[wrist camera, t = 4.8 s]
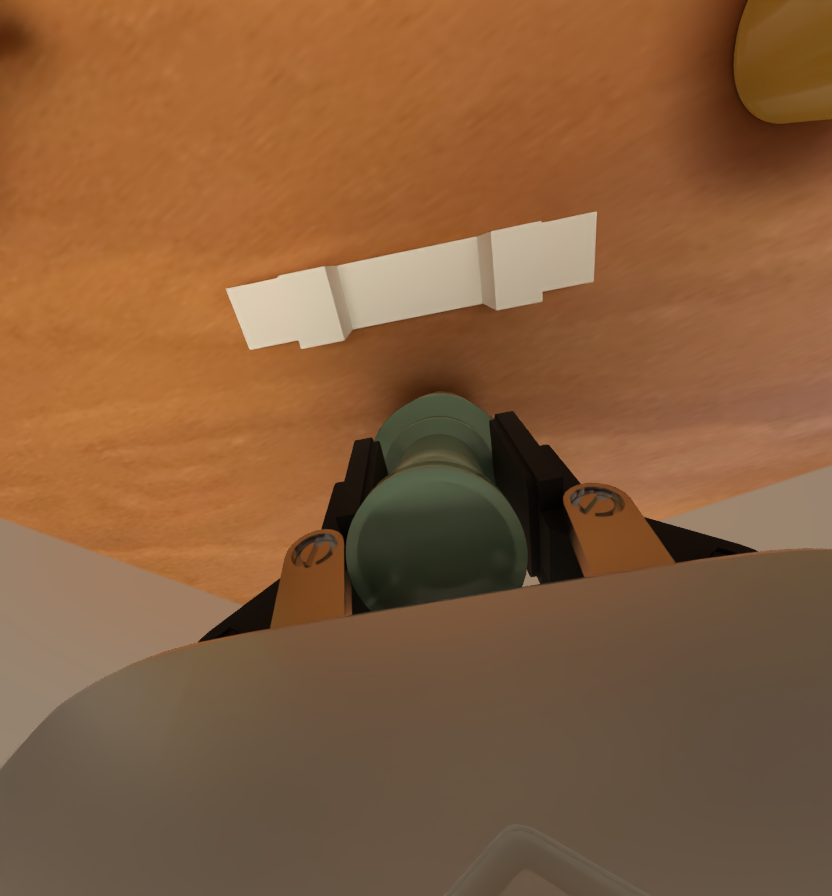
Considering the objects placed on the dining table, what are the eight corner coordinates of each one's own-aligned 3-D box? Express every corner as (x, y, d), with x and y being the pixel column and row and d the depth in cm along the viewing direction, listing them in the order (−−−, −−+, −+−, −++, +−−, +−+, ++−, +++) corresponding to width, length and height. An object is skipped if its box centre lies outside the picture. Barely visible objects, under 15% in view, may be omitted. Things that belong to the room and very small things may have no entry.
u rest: (576, 216, 18) (634, 201, 14) (575, 279, 20) (627, 284, 15) (243, 286, 19) (194, 293, 15) (264, 341, 21) (224, 364, 16)
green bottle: (465, 378, 22) (531, 360, 6) (493, 454, 23) (625, 642, 6) (388, 408, 23) (244, 473, 6) (418, 481, 24) (358, 715, 7)
